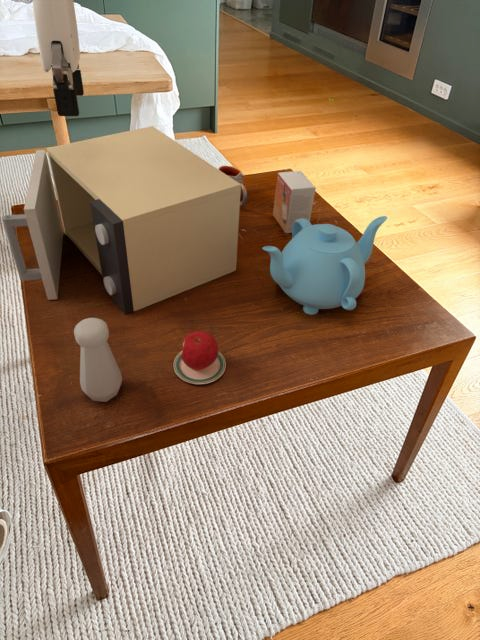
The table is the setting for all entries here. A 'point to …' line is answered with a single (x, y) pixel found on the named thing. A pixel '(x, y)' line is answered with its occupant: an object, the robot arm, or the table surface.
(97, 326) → the salt shaker
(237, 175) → the mug
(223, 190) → the microwave
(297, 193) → the small box
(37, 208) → the microwave door
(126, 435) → the table surface
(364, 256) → the teapot
